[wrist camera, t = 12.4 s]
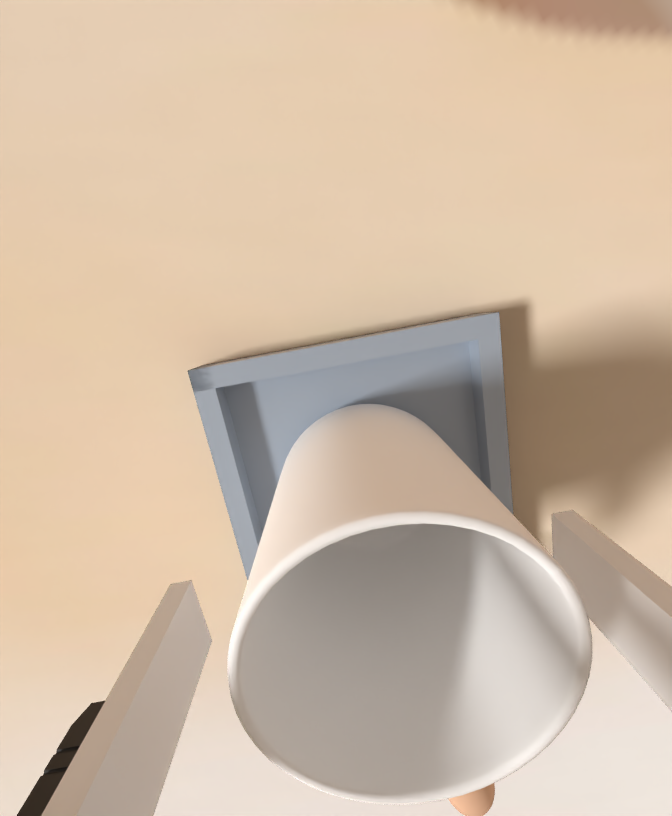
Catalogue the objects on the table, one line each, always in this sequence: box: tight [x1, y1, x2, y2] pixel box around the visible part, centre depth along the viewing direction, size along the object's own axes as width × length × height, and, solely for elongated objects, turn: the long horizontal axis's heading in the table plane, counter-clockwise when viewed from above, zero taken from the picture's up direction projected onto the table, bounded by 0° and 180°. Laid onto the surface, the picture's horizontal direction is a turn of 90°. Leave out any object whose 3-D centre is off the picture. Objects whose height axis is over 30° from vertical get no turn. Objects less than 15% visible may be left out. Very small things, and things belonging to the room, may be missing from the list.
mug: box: [227, 404, 592, 805], centre depth 14 cm, size 9×12×11 cm
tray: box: [188, 312, 513, 580], centre depth 19 cm, size 17×14×2 cm
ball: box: [449, 783, 495, 816], centre depth 23 cm, size 3×3×3 cm
